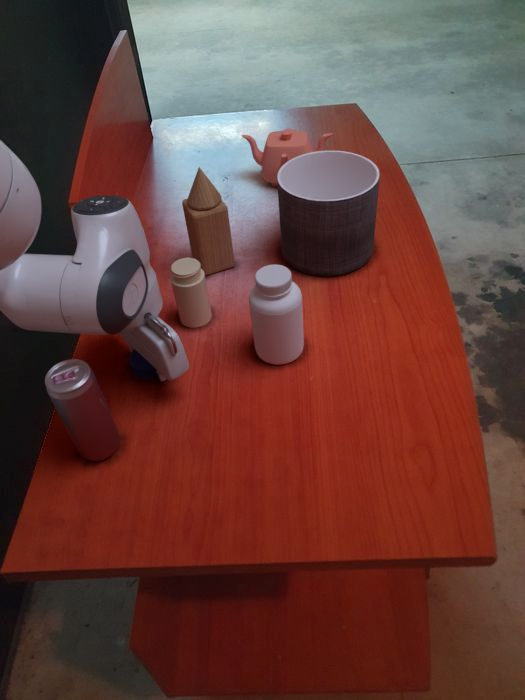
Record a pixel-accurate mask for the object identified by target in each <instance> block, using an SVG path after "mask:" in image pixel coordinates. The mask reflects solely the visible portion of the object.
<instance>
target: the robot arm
mask: <svg viewBox="0 0 525 700" xmlns="http://www.w3.org/2000/svg"><path fill="white" fill-rule="evenodd" d="M70 217H71V222H72V228H73V233H74V236H75V241H76V249H75V252H74V254H73V255H67V254H47V253H45V254H43V253H32V252H27V251H28V249H29V248H30V247H31V246H32V244H33V242H34V241H35V238H36V236H37V234H38V231H39V228H40V224H41V219H42V196H41V192H40V189H39V187H38V185H37V183H36V180H35V179H34V177H33V175H32V173H31V172H30V171H29V168H28V167H27V166H26V165H25V164H24V163H23V161H22V160H21V159H20V157H18V155H16V153H14V151H12V149H11V148H10V147H8V145H6V144H5V143H4V142H3V140H1V139H0V326H1V327H2V328H3V329H5V330H7V331H9V332H12V333H34V332H47V333H61V334H74V335H75V334H76V335H77V334H78V335H81V334H82V335H96V336H97V335H99V336H115V335H119V336H120V337H121V338H122V339H123V340H124V341H125V343H126V345H127V346H128V348H129V350H130V353H131V352H132V351H133V350H134V349H135V350H136V351H137V352H138V353H139V354H140V355H142V356H143V357H144V358H145V359H146V360H147V361H148V362H149V363H150V364H151V365H152V366H153V367H155V368H156V369H155V370H154V371H155V374H156V376H157V379H158V380H159V381H161V382H165V381H169V382H172V381H175V380H176V379H178V378H180V377H182V376H183V375H184V374H186V373H187V372H188V371H189V369H190V363H189V360H188V356H187V354H186V351H185V348H184V345H183V343H182V340H181V338H180V336H179V335H178V333H177V332H176V330H175V329H173V328H172V326H170V325H169V324H167V323H166V322H165V321H164V320H163V319H162V318H161V317H159V315H160V313H161V312H162V309H163V306H164V300H163V297H162V293H161V289H160V285H159V280H158V278H157V274H156V272H155V270H154V268H153V266H152V265H151V261H150V258H151V251H150V247H149V242H148V240H147V236H146V233H145V231H144V227H143V225H142V221H141V219H140V217H139V215H138V213H137V210H136V208H135V207H134V205H133V203H132V202H131V201H130V200H129V199H128V198H126V197H123V196H121V195H111V194H105V195H104V194H101V195H94V196H89V197H85V198H83V199H80V200H79V201H77V202H76V203H74V204H73V205H72V206H71V209H70Z"/></svg>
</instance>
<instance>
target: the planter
mask: <svg viewBox="0 0 525 700" xmlns="http://www.w3.org/2000/svg"><path fill="white" fill-rule="evenodd" d="M380 176H381V173H380V169H379V167H378V166H377V165H376V163H374V162H373V160H371V159H369V158H367V157H365V156H363V155H362V154H357V153H354V152H351V151H345V150H344V151H343V150H323V151H317V152H311V153H307V154H303V155H300V156H297V157H295V158H293V159H291V160H289V161H288V162H286V163H285V164H284V165H283V166H282V167H281V168H280V169H279V171H278V174H277V185H278V186H277V199H278V201H277V202H278V215H279V228H280V229H279V230H280V231H279V232H280V247H281V248H280V252H281V256H282V257H283V258H282V259H284V261H285V263H287V264H288V265H289V266H290V267H292V269H295V270H297V271H299V272H301V273H304V274H308V275H312V276H319V277H334V276H335V277H336V276H341V275H346V274H350V273H353V272H354V271H357V270H359V269H361V268H362V267H363V266H365V265H366V264H367V263H368V262H369V261H370V260H371V258H372V256H373V255H374V249H375V232H376V224H377V223H376V222H377V211H378V202H379V201H378V200H379V191H380V189H379V187H380V178H381V177H380Z"/></svg>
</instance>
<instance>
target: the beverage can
mask: <svg viewBox="0 0 525 700" xmlns="http://www.w3.org/2000/svg"><path fill="white" fill-rule="evenodd" d="M44 384H45V389H46V393H47V394H48V396H49V398H50V400H51V402H52V404H53V406H54V407H55V409H56V411H57V413H58V415H59V417H60V419H61V421H62V423H63V425H64V427H65V428H66V431H67V433H68V435H69V436H70V438H71V440H72V442H73V444H74V446H75V448H76V449H77V452H78V453H79V455H80V456H81V457H82V458H83V459H85V460H88V461H92V462H99V461H103V460H106V459H108V458H111V456H112V455H114V454H115V453H116V452H117V450H118V448H119V446H120V443H121V434H120V432H119V429H118V428H117V425H116V423H115V420H114V418H113V416H112V413H111V410H110V408H109V405H108V404H107V402H106V399H105V396H104V394H103V392H102V389H101V387H100V384H99V382H98V380H97V378H96V375H95V373H94V370H93V368H91V367H90V365H89V363H87V362H86V361H85V360H82V359H80V358H79V359H78V358H69V359H65V360H62V361H60V362H58V363H56V364H55V365H53V366H52V367H51V368H50V369H49V370H48V371H47V372H46V374H45V377H44Z"/></svg>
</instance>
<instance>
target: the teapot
mask: <svg viewBox="0 0 525 700" xmlns="http://www.w3.org/2000/svg"><path fill="white" fill-rule="evenodd" d="M333 135H334V132H328V133H323V134H322V135H321V136H320V138H319V140H318V143H317V147H316V149H315V150H314V149H313V145H312V142H311V139H310V135H309V133H308V132H307V131H305V130H293V129H292V128H291V127H290V128H289V127H288V128H286V129H283V130H277V131H271V132H269V133H268V134H267V137H266V140H265V143H264V148H263V151H262V150H260V149H259V147H258V145H257V142H256V140H255V138H254V137H253V136H252V135H248V134H241V137H242V138H243V139H244V140H246V141H247V142H248V144H249V146H250V150H251V154H252V157H253V160H254V161H255V163H257V165H259V166H260V167H261V175H262V177H263V179H264V180H265V182H267V183H269V184H271V186H272V187H278V185H277V174H278V171H279V169H280V168H281V167H282V166H283V165H284V164H285V163H286V162H288V161H289V160H291V159H293V158H295V157H297V156H300V155H303V154H307V153H311V152H317V151H325V150H324V149H325V144H326V141H327V140H328V139H329V138H330V137H331V136H333Z"/></svg>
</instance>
